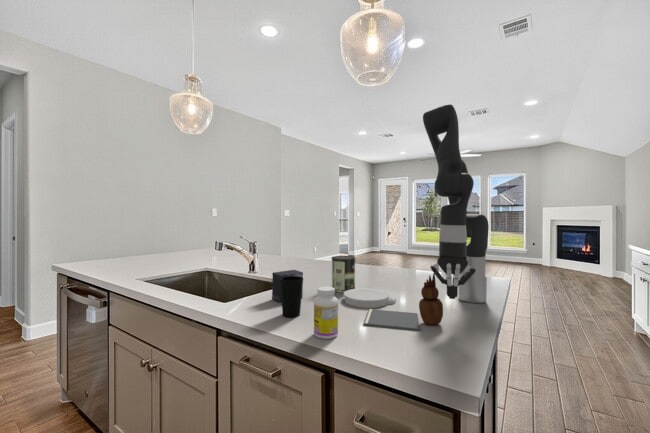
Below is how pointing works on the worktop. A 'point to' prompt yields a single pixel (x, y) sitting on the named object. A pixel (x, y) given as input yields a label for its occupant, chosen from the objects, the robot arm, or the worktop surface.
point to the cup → (291, 295)
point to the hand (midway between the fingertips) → (451, 298)
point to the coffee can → (343, 273)
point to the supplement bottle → (326, 313)
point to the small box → (276, 282)
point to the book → (392, 319)
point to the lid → (368, 298)
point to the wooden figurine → (430, 303)
